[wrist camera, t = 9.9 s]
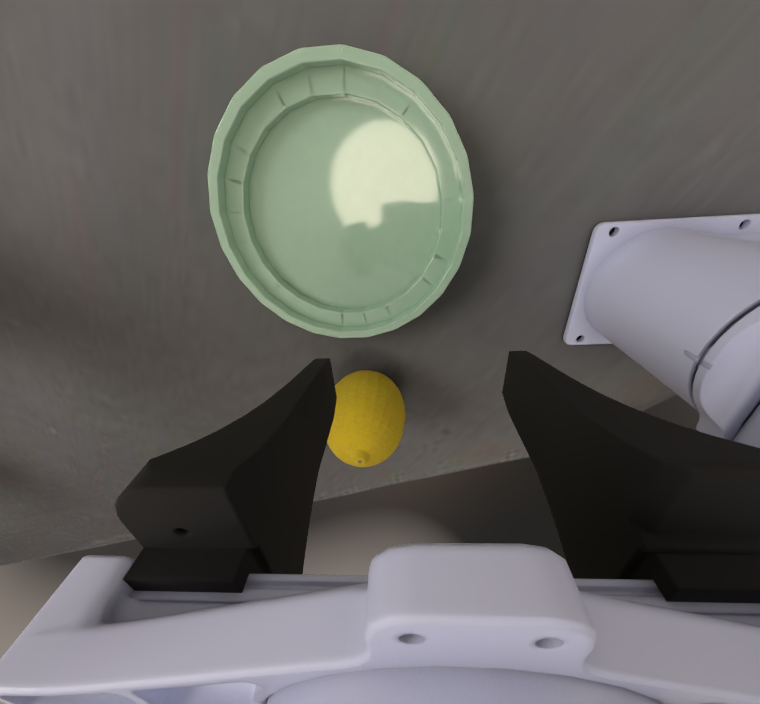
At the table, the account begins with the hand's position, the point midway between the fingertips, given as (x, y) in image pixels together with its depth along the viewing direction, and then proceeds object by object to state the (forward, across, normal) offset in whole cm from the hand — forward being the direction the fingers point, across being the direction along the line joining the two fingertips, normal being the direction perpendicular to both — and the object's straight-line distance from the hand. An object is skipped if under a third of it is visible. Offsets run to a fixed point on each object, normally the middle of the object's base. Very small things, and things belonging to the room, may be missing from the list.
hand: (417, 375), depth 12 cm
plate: (+10, +4, -5) cm, 11 cm away
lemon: (+10, +3, +7) cm, 12 cm away
